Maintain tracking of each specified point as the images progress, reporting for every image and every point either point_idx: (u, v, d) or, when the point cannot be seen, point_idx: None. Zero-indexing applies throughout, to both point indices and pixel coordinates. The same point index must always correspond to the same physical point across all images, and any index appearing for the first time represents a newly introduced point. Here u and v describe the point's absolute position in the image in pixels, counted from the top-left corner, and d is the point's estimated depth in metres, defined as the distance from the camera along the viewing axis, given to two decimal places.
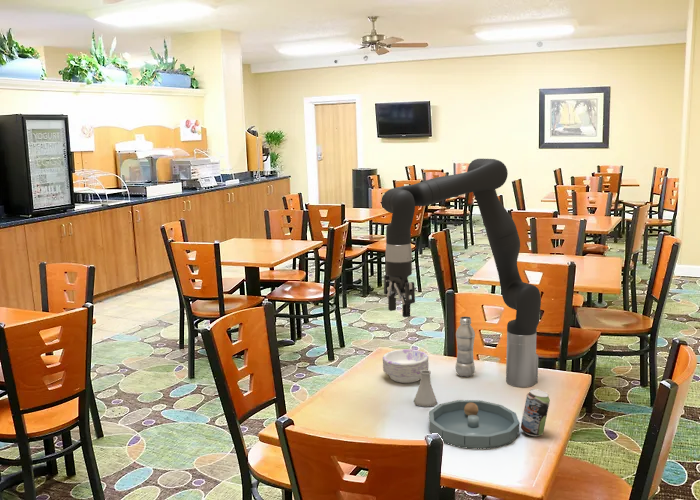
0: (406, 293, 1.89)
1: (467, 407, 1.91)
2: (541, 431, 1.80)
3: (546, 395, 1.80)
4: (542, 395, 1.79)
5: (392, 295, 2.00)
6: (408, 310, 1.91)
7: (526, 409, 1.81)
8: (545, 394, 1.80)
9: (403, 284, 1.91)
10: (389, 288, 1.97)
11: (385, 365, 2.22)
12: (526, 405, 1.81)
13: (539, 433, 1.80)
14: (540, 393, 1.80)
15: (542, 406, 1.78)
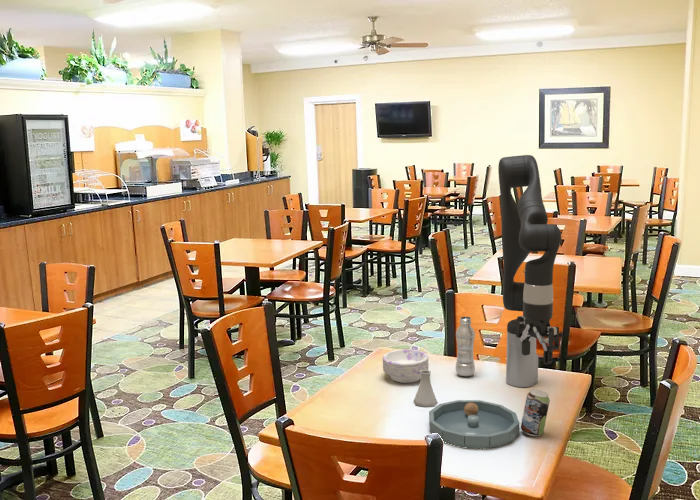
0: (550, 339, 1.72)
1: (467, 407, 1.91)
2: (541, 431, 1.80)
3: (546, 395, 1.80)
4: (542, 395, 1.79)
5: (526, 338, 1.82)
6: (550, 357, 1.74)
7: (526, 409, 1.81)
8: (545, 394, 1.80)
9: (545, 328, 1.74)
10: (525, 331, 1.80)
11: (385, 365, 2.22)
12: (526, 405, 1.81)
13: (539, 433, 1.80)
14: (540, 393, 1.80)
15: (542, 406, 1.78)
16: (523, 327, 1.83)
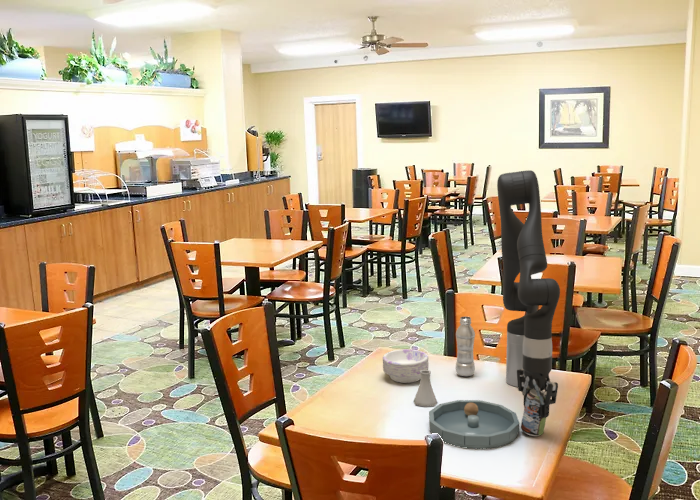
0: (548, 394, 1.74)
1: (467, 407, 1.91)
2: (541, 431, 1.80)
3: None
4: None
5: None
6: (547, 410, 1.77)
7: (526, 409, 1.81)
8: None
9: (544, 382, 1.76)
10: (526, 384, 1.81)
11: (385, 365, 2.22)
12: (526, 405, 1.81)
13: (539, 433, 1.80)
14: None
15: None
16: (524, 380, 1.85)
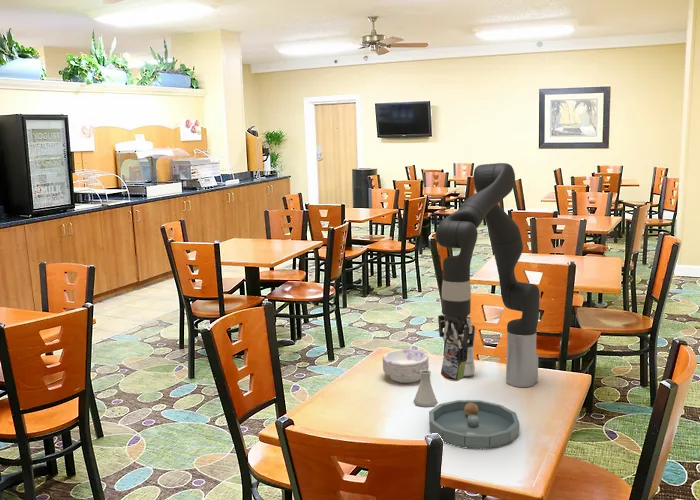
0: (465, 337, 1.73)
1: (467, 407, 1.91)
2: (460, 376, 1.79)
3: None
4: (461, 340, 1.78)
5: None
6: (465, 354, 1.76)
7: (445, 354, 1.79)
8: None
9: (462, 326, 1.74)
10: (445, 329, 1.80)
11: (385, 365, 2.22)
12: (445, 350, 1.79)
13: (458, 378, 1.79)
14: None
15: None
16: None
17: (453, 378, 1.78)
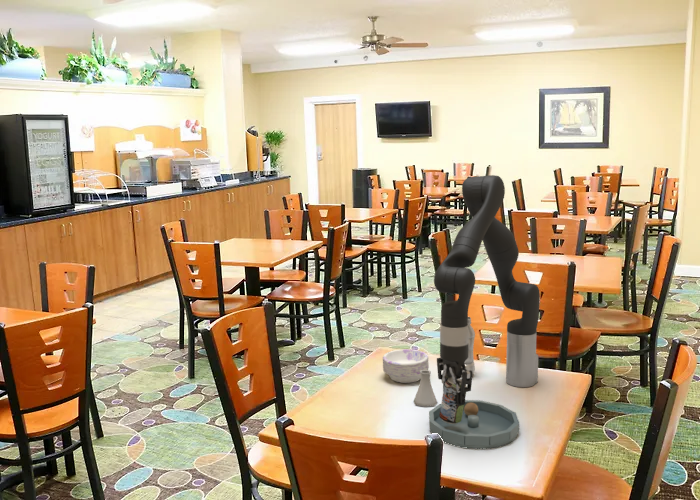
0: (463, 382, 1.75)
1: (467, 407, 1.91)
2: (458, 419, 1.81)
3: None
4: (459, 383, 1.80)
5: None
6: (463, 398, 1.78)
7: (443, 397, 1.81)
8: None
9: (460, 370, 1.77)
10: (444, 372, 1.82)
11: (385, 365, 2.22)
12: (444, 393, 1.82)
13: (456, 421, 1.81)
14: None
15: None
16: (444, 368, 1.86)
17: (451, 421, 1.81)
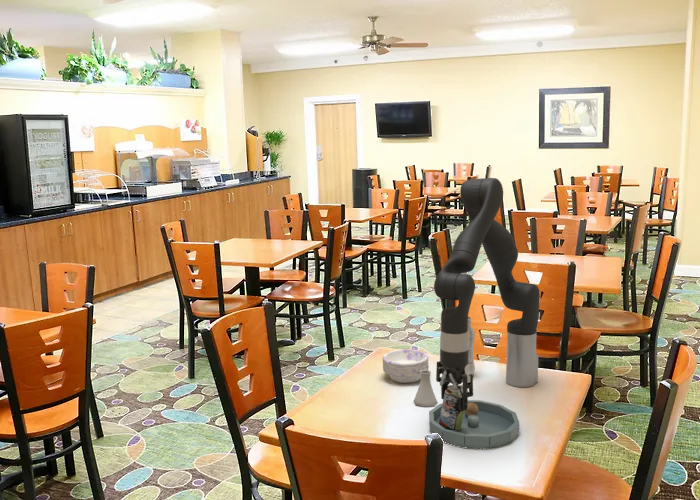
0: (464, 386, 1.75)
1: (467, 407, 1.91)
2: (458, 426, 1.82)
3: None
4: None
5: (445, 383, 1.85)
6: (465, 403, 1.77)
7: (443, 404, 1.82)
8: (462, 390, 1.82)
9: (460, 376, 1.77)
10: (443, 377, 1.83)
11: (385, 365, 2.22)
12: (444, 400, 1.82)
13: (456, 428, 1.81)
14: None
15: (458, 402, 1.80)
16: (443, 372, 1.86)
17: (451, 428, 1.81)
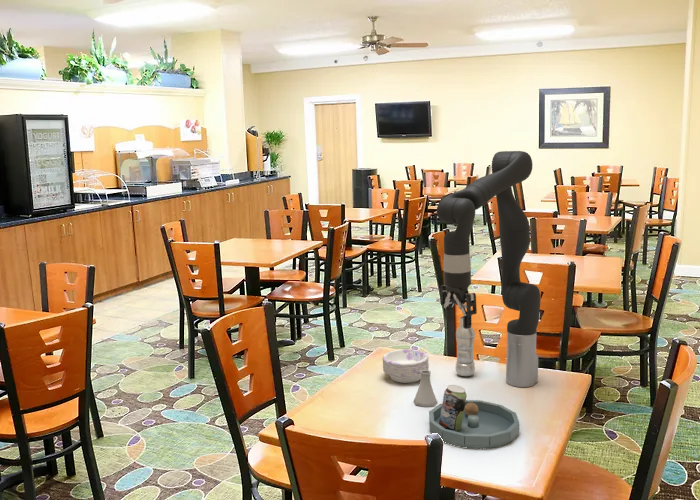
0: (468, 304, 1.84)
1: (467, 407, 1.91)
2: (458, 426, 1.82)
3: (463, 391, 1.81)
4: (458, 391, 1.81)
5: (449, 305, 1.95)
6: (469, 321, 1.87)
7: (443, 405, 1.82)
8: (462, 390, 1.82)
9: (464, 295, 1.86)
10: (447, 299, 1.92)
11: (385, 365, 2.22)
12: (443, 401, 1.82)
13: (456, 428, 1.81)
14: (457, 389, 1.82)
15: (458, 402, 1.80)
16: (446, 295, 1.96)
17: (451, 429, 1.81)
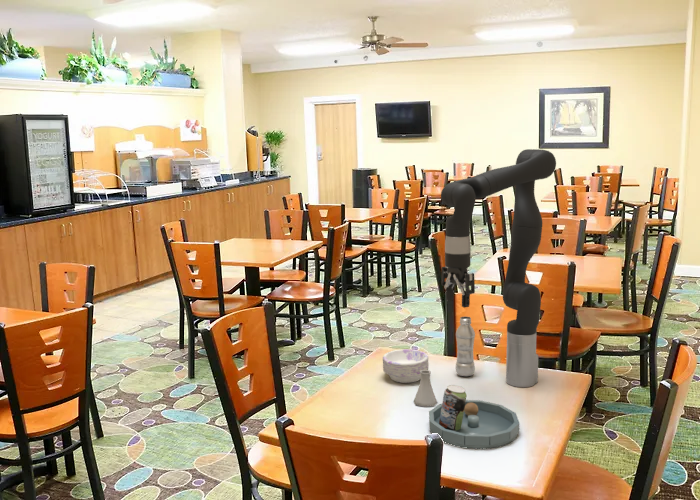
0: (466, 284, 1.95)
1: (467, 407, 1.91)
2: (458, 426, 1.82)
3: (463, 391, 1.81)
4: (458, 391, 1.81)
5: (450, 286, 2.06)
6: (467, 300, 1.97)
7: (443, 405, 1.82)
8: (462, 390, 1.82)
9: (463, 275, 1.97)
10: (447, 279, 2.03)
11: (385, 365, 2.22)
12: (443, 401, 1.82)
13: (456, 428, 1.81)
14: (457, 389, 1.82)
15: (458, 402, 1.80)
16: (447, 276, 2.07)
17: (451, 429, 1.81)
